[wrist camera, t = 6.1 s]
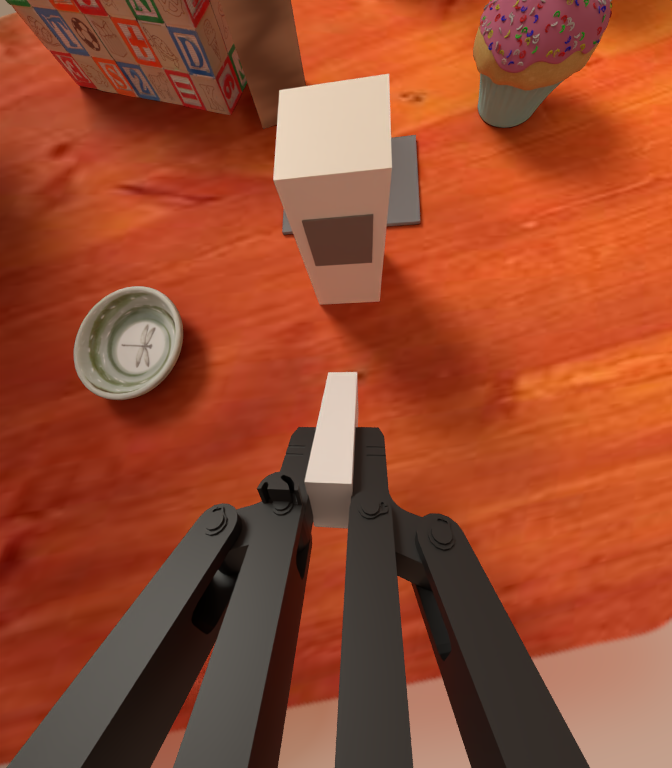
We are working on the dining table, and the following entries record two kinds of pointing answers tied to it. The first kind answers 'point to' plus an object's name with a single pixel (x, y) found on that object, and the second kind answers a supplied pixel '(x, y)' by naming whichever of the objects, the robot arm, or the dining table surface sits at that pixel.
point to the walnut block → (265, 50)
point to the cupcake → (532, 52)
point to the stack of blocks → (143, 48)
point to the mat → (397, 185)
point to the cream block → (337, 182)
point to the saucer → (128, 343)
